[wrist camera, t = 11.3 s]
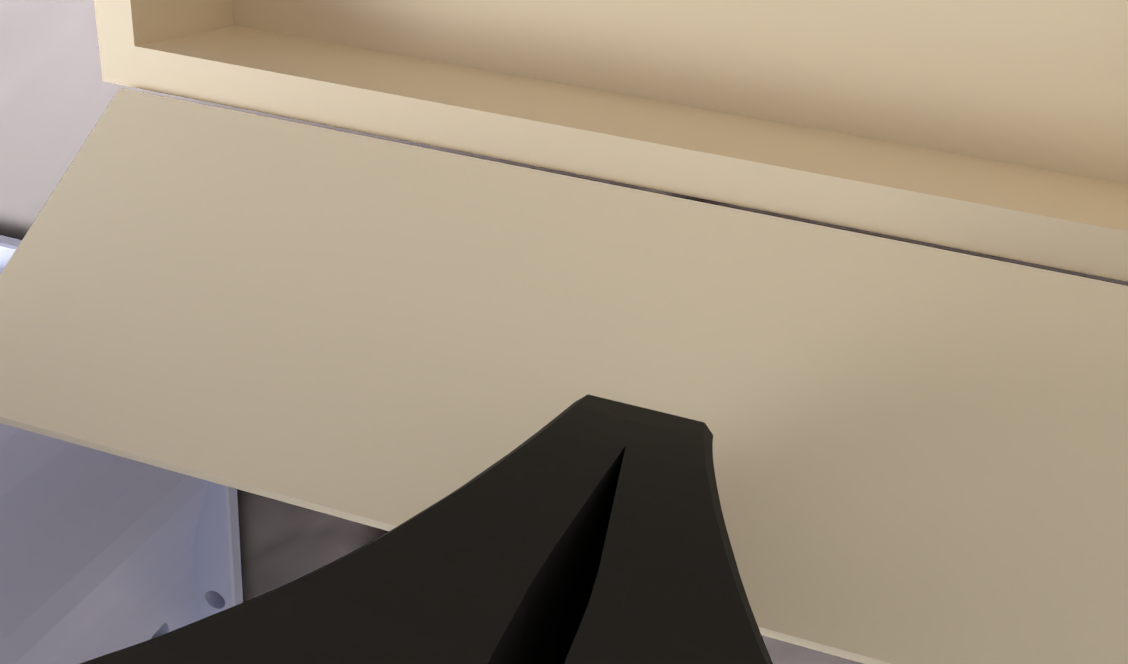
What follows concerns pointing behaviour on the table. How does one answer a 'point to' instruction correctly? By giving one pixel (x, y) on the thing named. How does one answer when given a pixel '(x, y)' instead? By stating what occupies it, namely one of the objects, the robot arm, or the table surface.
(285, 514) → the table surface
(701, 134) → the carton
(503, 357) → the flap
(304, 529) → the table surface
